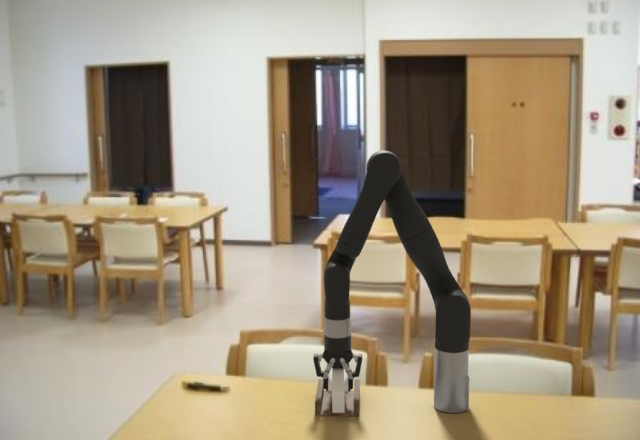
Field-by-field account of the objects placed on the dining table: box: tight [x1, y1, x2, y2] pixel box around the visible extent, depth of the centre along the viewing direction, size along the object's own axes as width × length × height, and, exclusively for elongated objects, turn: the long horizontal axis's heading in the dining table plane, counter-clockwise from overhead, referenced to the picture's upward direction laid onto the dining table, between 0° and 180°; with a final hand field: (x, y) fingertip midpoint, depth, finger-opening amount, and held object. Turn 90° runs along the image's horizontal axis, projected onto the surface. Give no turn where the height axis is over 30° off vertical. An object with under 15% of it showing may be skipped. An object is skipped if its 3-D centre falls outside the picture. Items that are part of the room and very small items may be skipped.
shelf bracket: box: [328, 368, 348, 413], centre depth 203 cm, size 6×25×13 cm, turn 179°
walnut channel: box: [314, 378, 361, 417], centre depth 203 cm, size 12×16×4 cm
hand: (338, 390), depth 202 cm, fingers closed on shelf bracket, 5 cm apart
